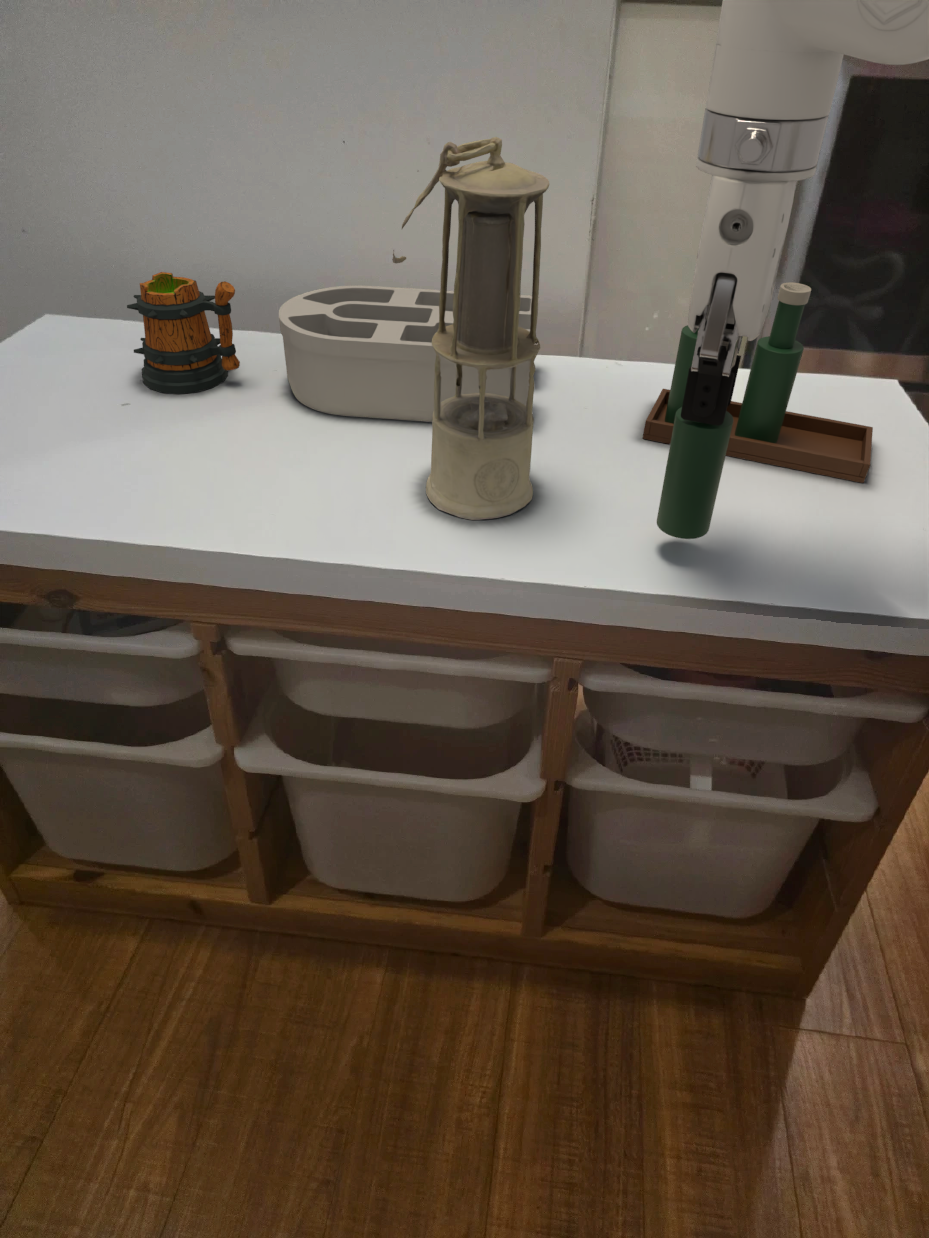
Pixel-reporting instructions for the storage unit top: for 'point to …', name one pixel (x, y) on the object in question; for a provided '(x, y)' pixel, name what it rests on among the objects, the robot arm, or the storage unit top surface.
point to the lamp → (484, 334)
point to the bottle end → (681, 372)
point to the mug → (184, 335)
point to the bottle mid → (774, 369)
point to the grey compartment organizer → (379, 352)
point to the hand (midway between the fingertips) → (705, 409)
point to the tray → (789, 442)
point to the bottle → (693, 475)
